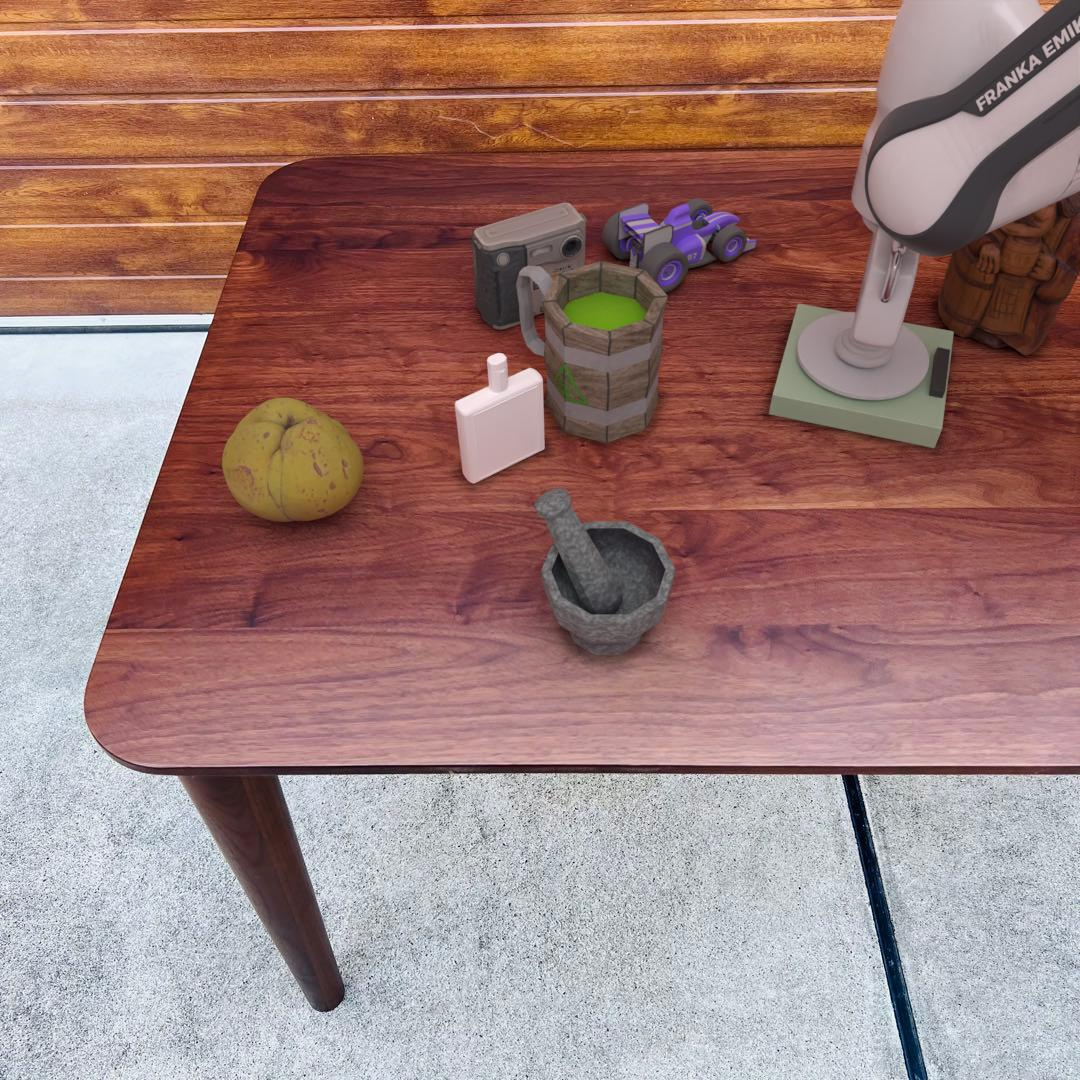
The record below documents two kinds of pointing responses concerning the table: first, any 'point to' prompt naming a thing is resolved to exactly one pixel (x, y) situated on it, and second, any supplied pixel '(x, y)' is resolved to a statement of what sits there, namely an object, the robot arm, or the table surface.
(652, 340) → the mug
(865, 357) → the chess piece
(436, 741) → the table surface
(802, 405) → the scale
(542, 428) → the perfume bottle
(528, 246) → the camera
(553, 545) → the mortar and pestle
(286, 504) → the fruit
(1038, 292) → the wooden figurine
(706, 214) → the toy race car
